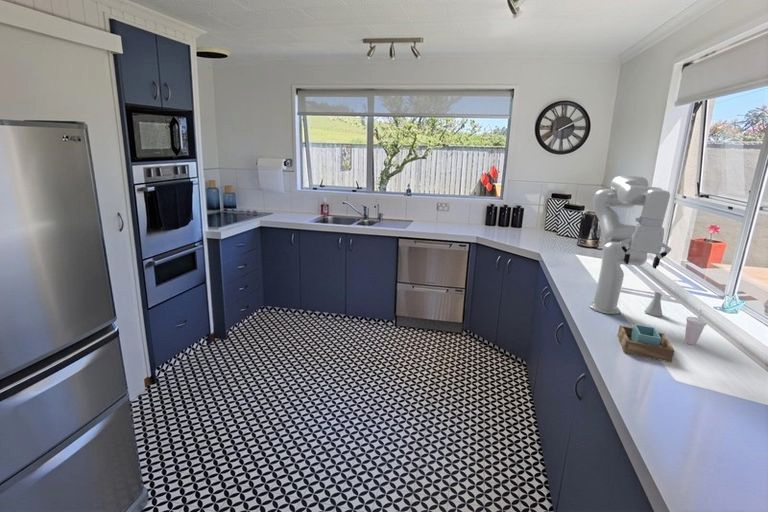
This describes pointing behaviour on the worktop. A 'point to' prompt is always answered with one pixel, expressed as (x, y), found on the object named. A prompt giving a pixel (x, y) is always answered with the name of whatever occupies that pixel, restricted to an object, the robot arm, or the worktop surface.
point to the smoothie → (694, 329)
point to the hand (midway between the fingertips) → (640, 265)
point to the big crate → (645, 346)
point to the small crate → (645, 335)
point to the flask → (655, 305)
